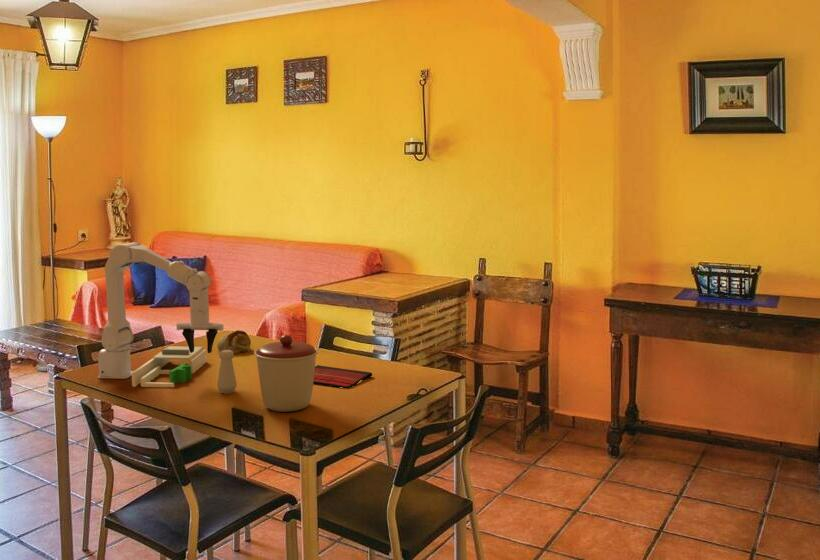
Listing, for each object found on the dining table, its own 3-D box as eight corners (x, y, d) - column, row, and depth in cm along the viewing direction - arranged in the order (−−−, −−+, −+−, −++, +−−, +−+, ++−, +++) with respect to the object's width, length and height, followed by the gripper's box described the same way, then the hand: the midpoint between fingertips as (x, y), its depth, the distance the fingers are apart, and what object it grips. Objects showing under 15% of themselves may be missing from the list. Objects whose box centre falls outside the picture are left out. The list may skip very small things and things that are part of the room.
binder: (317, 364, 266) (372, 371, 257) (317, 370, 267) (372, 378, 258) (291, 377, 252) (348, 386, 243) (291, 384, 252) (348, 393, 244)
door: (153, 358, 259) (152, 352, 259) (169, 347, 274) (168, 342, 274) (188, 359, 259) (188, 353, 258) (203, 348, 274) (202, 342, 274)
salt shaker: (219, 396, 235) (218, 353, 233) (215, 391, 240) (214, 349, 238) (239, 393, 238) (238, 351, 236) (234, 388, 243) (233, 347, 241)
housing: (132, 386, 244) (131, 372, 244) (167, 361, 275) (166, 348, 275) (176, 387, 244) (176, 373, 243) (206, 362, 275) (206, 349, 274)
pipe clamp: (181, 386, 246) (180, 372, 245) (169, 385, 247) (169, 371, 246) (195, 376, 257) (194, 362, 256) (184, 375, 258) (183, 362, 257)
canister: (242, 412, 220) (241, 338, 217) (276, 394, 237) (274, 326, 234) (299, 420, 214) (298, 344, 211) (329, 401, 231) (329, 331, 228)
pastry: (240, 355, 285) (240, 334, 284) (209, 353, 288) (209, 332, 287) (258, 347, 298) (257, 326, 297) (228, 345, 302) (228, 324, 300)
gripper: (172, 312, 244) (174, 354, 246) (218, 313, 244) (219, 355, 246) (180, 308, 251) (181, 349, 253) (224, 308, 251) (225, 350, 253)
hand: (200, 352), depth 250 cm, fingers open, 5 cm apart
